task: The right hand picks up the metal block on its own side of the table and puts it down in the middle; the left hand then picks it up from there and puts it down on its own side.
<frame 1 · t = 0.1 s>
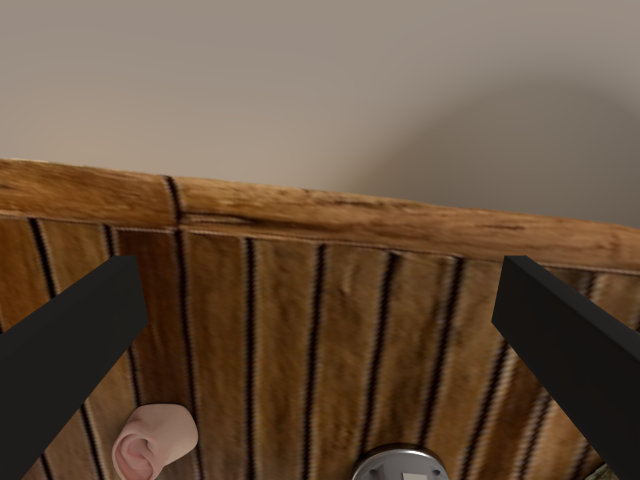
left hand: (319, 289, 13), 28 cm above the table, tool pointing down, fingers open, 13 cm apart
anatomical model: (159, 432, 53), on the table
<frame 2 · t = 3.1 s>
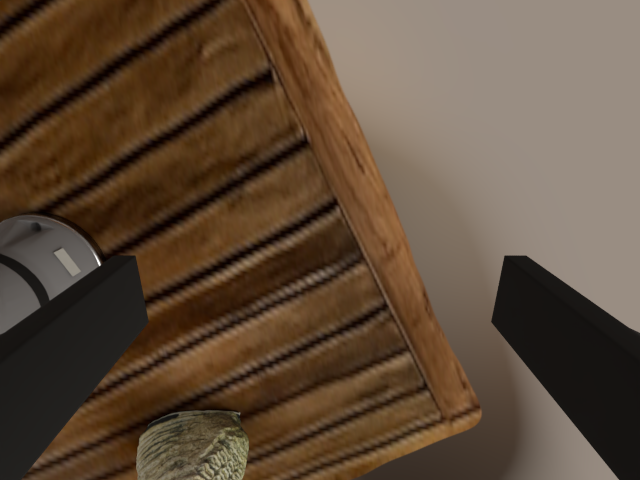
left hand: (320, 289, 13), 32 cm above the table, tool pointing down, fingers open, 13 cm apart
fossil: (200, 424, 58), on the table
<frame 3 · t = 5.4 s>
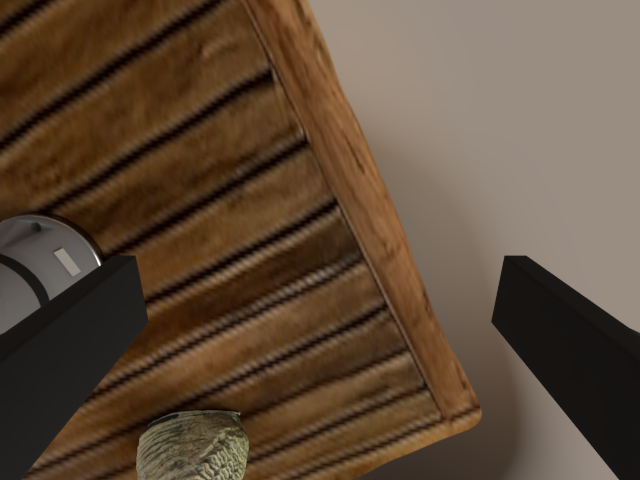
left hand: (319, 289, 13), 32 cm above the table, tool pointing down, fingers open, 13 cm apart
fossil: (200, 424, 58), on the table
when the right hand's fingers open (3 cm above the table, at t = 7.7 s): block drops 1 cm, on the table.
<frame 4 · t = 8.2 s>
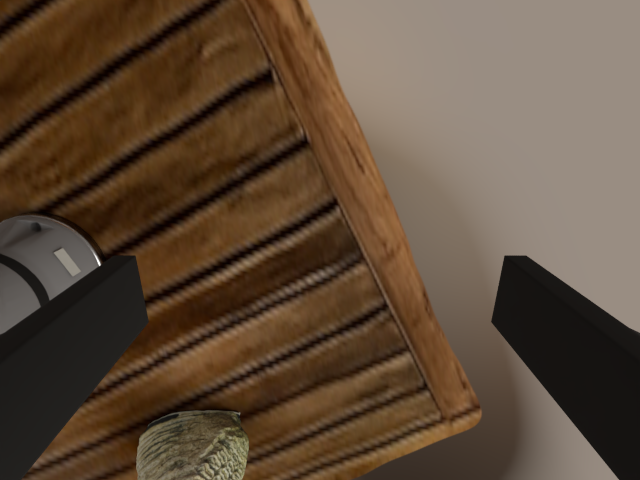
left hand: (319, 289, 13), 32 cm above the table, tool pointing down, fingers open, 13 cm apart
fossil: (200, 424, 58), on the table
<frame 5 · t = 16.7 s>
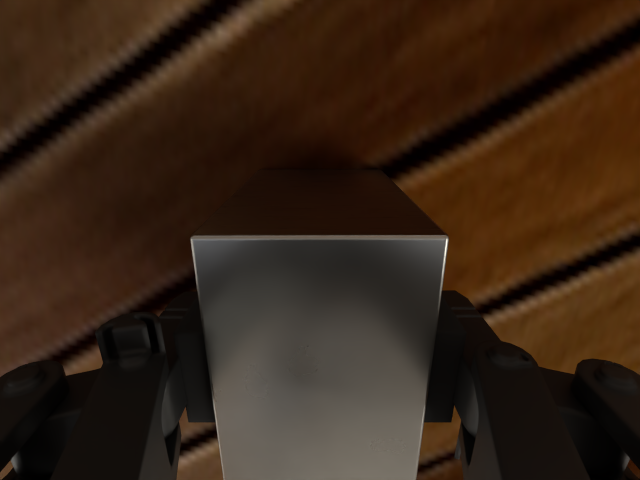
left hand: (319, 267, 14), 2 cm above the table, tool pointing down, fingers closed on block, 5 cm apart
block: (319, 249, 16), on the table, touching left hand
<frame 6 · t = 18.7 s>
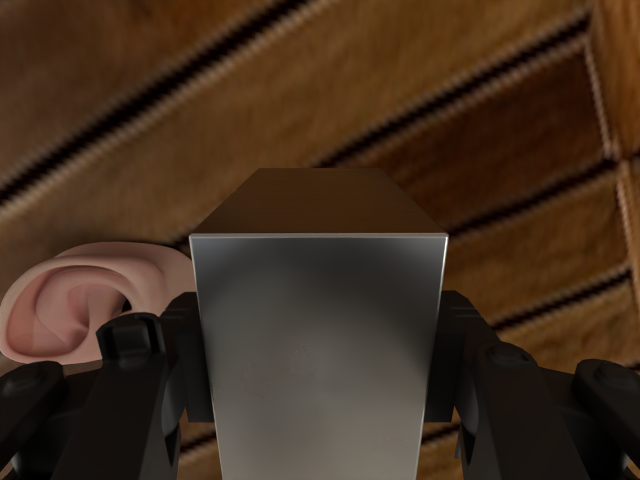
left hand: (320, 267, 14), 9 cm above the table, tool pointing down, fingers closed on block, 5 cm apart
anatomical model: (138, 304, 26), on the table
block: (319, 248, 16), point 7 cm above the table, touching left hand
when the left hand's fingers open (3 cm above the table, at t = 20.9 s): block drops 1 cm, on the table.
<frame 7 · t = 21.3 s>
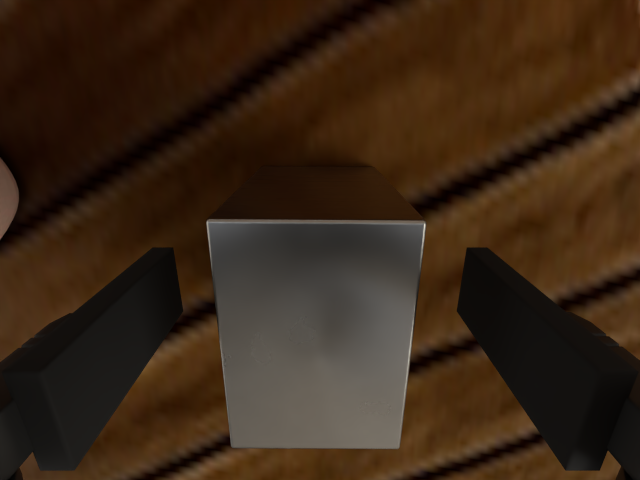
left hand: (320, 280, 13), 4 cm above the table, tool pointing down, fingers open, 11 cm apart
block: (317, 241, 17), on the table
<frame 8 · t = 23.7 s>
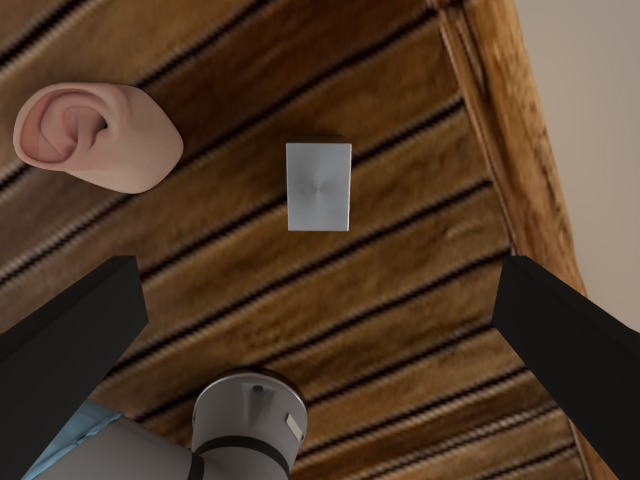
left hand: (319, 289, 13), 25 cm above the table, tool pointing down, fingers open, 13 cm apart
anatomical model: (114, 137, 35), on the table
block: (318, 172, 37), on the table
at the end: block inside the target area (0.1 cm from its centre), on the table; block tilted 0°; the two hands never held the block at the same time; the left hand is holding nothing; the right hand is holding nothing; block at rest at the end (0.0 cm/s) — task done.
